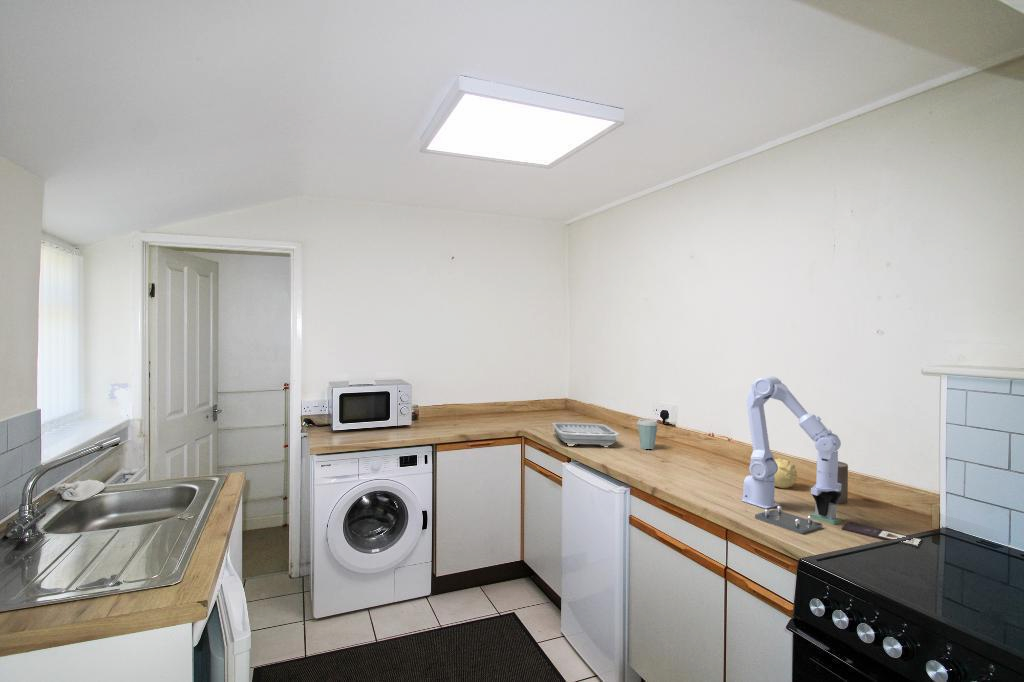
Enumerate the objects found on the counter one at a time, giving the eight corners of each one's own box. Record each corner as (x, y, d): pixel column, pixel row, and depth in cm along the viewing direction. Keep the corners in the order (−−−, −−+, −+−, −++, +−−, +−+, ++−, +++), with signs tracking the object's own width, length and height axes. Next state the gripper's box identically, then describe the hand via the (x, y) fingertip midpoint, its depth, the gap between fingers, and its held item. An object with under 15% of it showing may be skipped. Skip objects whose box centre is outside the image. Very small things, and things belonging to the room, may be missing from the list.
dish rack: (604, 436, 299) (604, 422, 299) (621, 450, 263) (622, 434, 262) (549, 435, 297) (550, 421, 297) (559, 449, 261) (560, 433, 260)
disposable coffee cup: (654, 452, 259) (655, 422, 258) (633, 449, 264) (634, 419, 264) (659, 448, 268) (660, 419, 268) (639, 445, 273) (640, 417, 273)
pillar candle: (842, 498, 191) (843, 457, 191) (851, 506, 181) (852, 463, 181) (812, 495, 193) (813, 455, 193) (819, 503, 184) (820, 461, 184)
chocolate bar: (849, 521, 165) (921, 538, 152) (849, 524, 165) (921, 541, 152) (841, 527, 158) (916, 546, 145) (841, 531, 158) (916, 549, 146)
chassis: (755, 518, 166) (755, 508, 166) (775, 512, 172) (775, 503, 172) (801, 534, 154) (802, 523, 154) (822, 527, 159) (822, 517, 159)
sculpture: (793, 492, 197) (794, 463, 197) (759, 485, 204) (760, 458, 204) (798, 485, 206) (799, 458, 206) (765, 480, 213) (766, 453, 213)
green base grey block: (810, 517, 169) (810, 500, 169) (817, 515, 171) (817, 498, 171) (833, 524, 163) (834, 507, 163) (840, 522, 165) (841, 505, 165)
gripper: (827, 477, 159) (826, 522, 160) (852, 472, 167) (850, 514, 167) (804, 472, 165) (803, 515, 166) (829, 467, 173) (827, 508, 173)
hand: (825, 514), depth 167 cm, fingers closed on green base grey block, 3 cm apart
